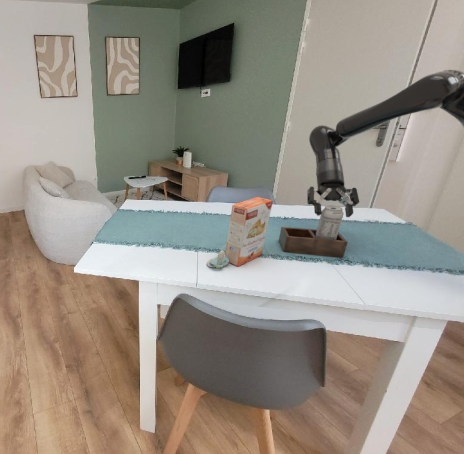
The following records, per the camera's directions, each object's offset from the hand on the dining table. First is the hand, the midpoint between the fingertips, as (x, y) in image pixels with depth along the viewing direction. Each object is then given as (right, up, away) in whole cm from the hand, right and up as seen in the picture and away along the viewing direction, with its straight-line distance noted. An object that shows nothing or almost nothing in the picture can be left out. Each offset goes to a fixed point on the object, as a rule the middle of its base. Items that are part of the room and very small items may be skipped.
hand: (334, 215), depth 99 cm
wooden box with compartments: (-3, -12, +8) cm, 15 cm away
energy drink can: (+1, -11, +6) cm, 13 cm away
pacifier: (-40, -17, +1) cm, 43 cm away
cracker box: (-29, -15, +4) cm, 33 cm away
